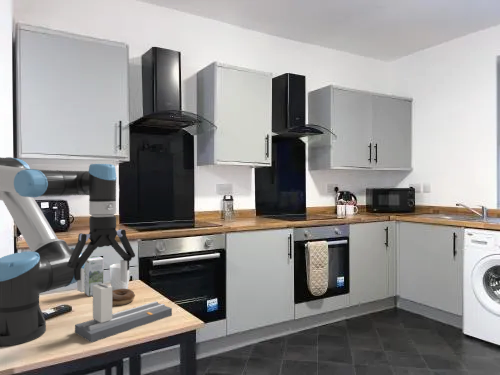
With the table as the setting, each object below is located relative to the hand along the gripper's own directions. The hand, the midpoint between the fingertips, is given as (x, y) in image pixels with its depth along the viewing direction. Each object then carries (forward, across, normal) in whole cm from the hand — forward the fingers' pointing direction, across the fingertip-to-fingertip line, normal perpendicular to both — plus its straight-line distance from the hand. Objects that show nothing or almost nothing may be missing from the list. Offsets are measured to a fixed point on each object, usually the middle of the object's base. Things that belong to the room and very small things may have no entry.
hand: (103, 286), depth 111 cm
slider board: (+14, +8, 0) cm, 16 cm away
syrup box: (+14, +16, +37) cm, 43 cm away
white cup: (+14, +26, +35) cm, 46 cm away
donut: (+14, +18, +21) cm, 31 cm away
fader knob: (+11, 0, 0) cm, 11 cm away
